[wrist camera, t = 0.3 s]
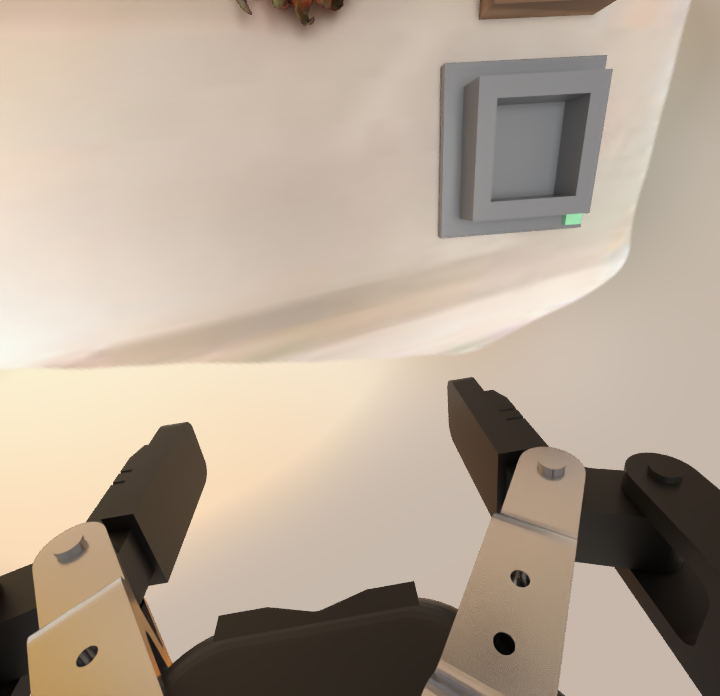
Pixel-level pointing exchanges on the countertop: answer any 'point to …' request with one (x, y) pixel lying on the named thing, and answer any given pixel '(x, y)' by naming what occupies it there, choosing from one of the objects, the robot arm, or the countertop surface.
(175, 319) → the countertop surface
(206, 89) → the countertop surface
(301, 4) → the dragon fruit
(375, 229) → the countertop surface
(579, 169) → the dock
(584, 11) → the wooden picture frame
